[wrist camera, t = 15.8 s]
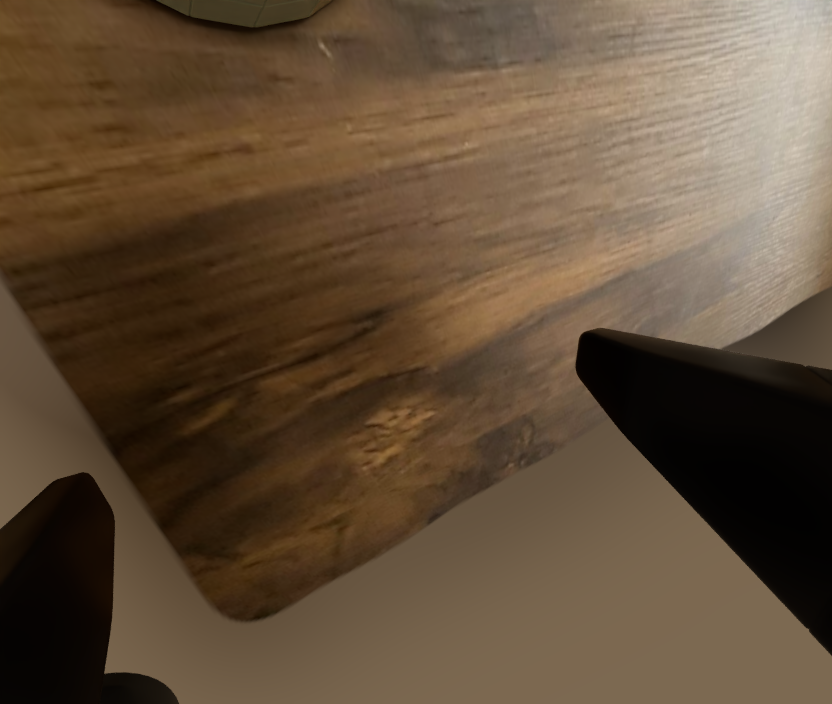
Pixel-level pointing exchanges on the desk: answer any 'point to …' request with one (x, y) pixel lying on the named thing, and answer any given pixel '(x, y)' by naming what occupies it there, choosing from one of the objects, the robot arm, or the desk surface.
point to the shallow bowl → (247, 10)
